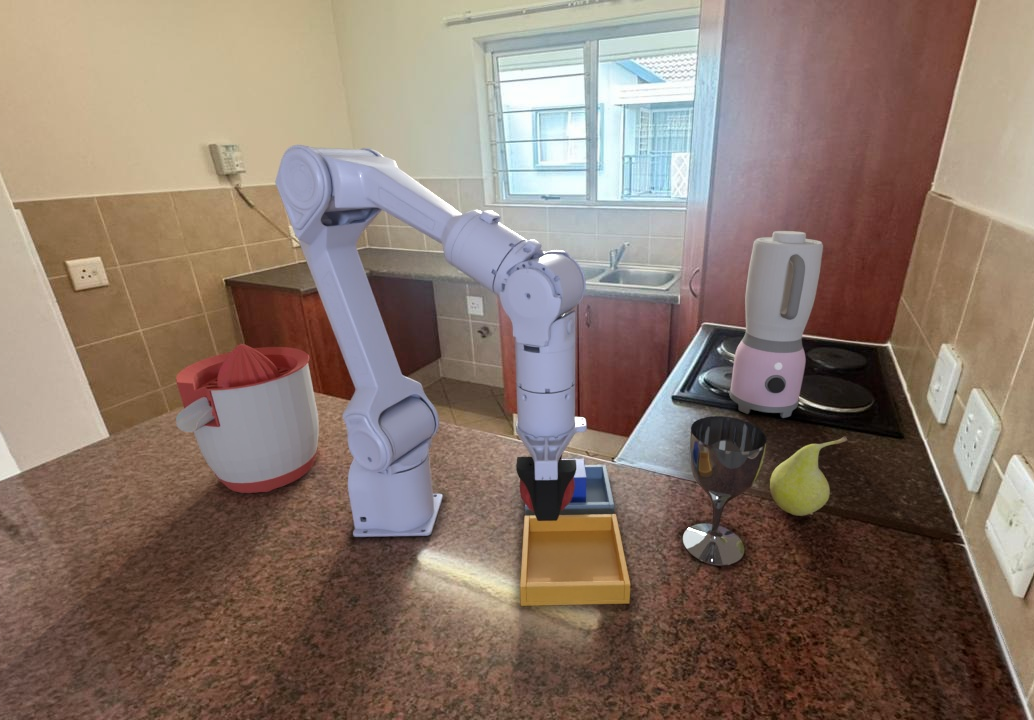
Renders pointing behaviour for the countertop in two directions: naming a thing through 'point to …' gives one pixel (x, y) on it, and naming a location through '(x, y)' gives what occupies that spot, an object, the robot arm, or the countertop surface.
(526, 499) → the onion
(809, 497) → the fruit
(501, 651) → the countertop surface
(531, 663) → the countertop surface
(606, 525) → the ochre tray
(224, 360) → the citrus juicer
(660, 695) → the countertop surface
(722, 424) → the wine glass
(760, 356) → the blender
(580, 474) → the blue block
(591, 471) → the gray tray
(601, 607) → the countertop surface
